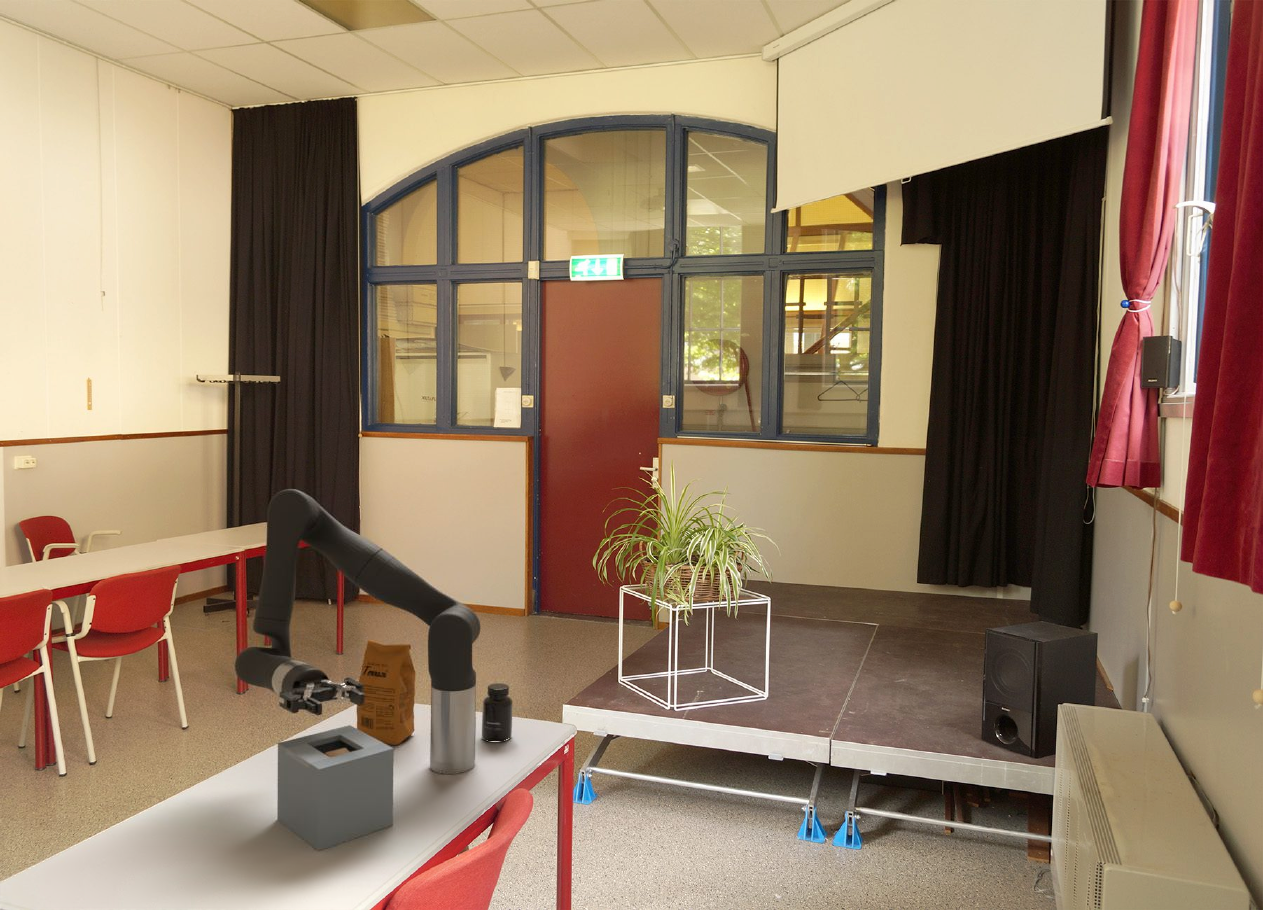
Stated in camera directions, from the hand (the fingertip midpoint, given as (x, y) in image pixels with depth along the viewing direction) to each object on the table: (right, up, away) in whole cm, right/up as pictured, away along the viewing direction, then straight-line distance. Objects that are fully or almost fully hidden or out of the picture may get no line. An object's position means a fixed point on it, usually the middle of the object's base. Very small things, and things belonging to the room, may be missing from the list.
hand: (341, 704), depth 158 cm
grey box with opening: (-2, -22, +2) cm, 22 cm away
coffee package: (-5, -20, +45) cm, 49 cm away
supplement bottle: (+21, -21, +46) cm, 54 cm away
